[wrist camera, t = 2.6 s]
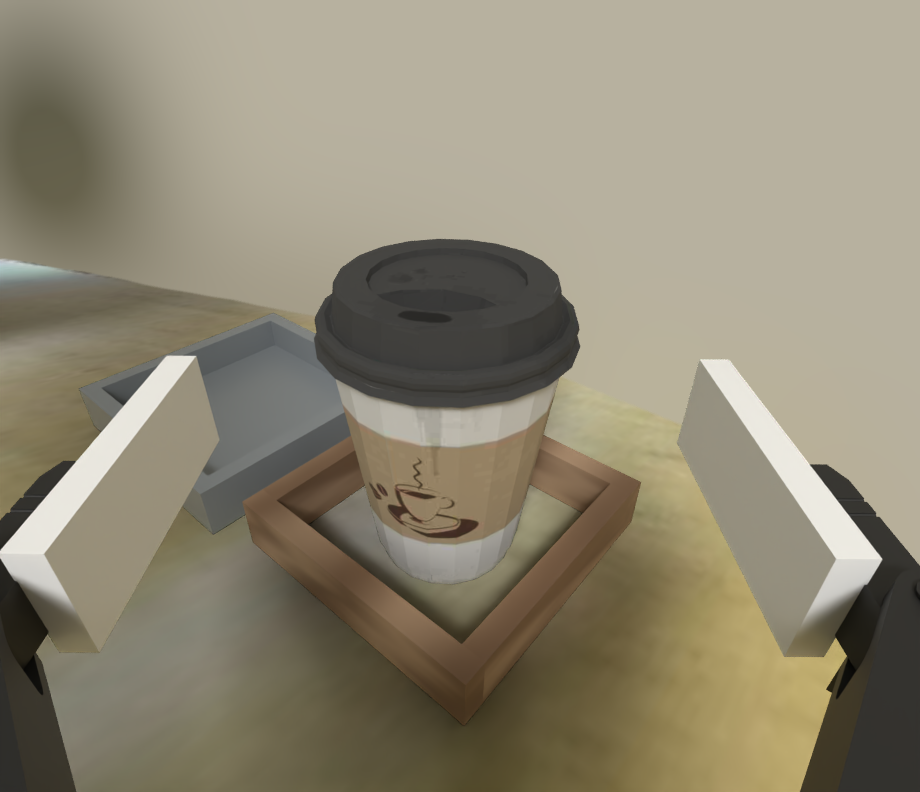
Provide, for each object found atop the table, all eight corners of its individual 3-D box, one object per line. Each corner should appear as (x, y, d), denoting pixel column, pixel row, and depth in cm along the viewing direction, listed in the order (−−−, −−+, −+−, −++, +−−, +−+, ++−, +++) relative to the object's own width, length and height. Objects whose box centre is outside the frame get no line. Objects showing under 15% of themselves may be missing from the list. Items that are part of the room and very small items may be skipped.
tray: (94, 425, 40) (78, 388, 38) (279, 345, 49) (273, 312, 48) (213, 534, 32) (200, 494, 30) (406, 413, 41) (404, 377, 40)
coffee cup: (308, 599, 28) (250, 323, 20) (380, 453, 38) (361, 222, 29) (541, 642, 27) (586, 360, 18) (556, 478, 36) (590, 241, 28)
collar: (253, 542, 31) (242, 501, 30) (436, 419, 41) (436, 383, 39) (464, 726, 24) (465, 685, 22) (631, 521, 33) (641, 482, 31)
